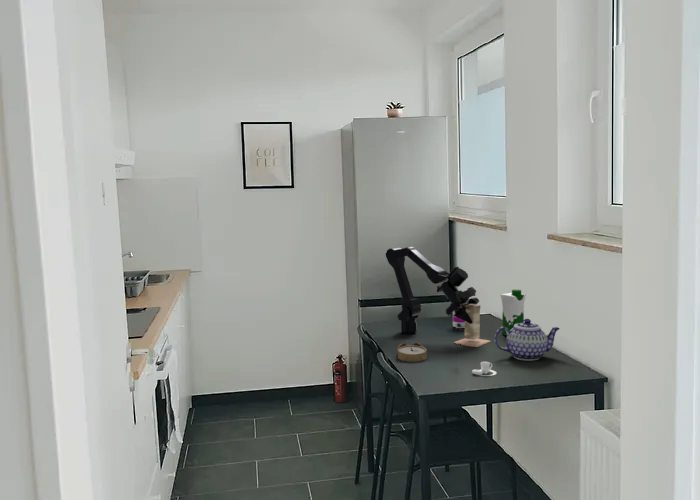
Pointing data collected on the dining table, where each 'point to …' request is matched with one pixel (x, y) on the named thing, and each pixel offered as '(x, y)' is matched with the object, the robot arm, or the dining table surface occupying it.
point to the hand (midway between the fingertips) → (474, 322)
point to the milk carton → (512, 309)
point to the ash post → (473, 329)
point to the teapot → (527, 340)
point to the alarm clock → (411, 352)
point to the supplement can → (458, 321)
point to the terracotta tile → (472, 342)
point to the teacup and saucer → (484, 369)
